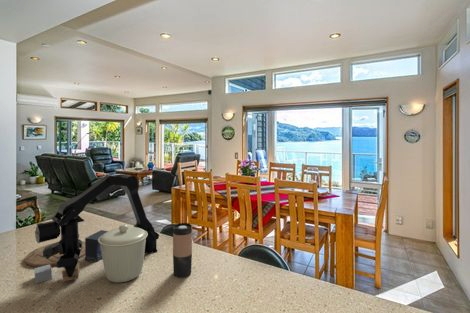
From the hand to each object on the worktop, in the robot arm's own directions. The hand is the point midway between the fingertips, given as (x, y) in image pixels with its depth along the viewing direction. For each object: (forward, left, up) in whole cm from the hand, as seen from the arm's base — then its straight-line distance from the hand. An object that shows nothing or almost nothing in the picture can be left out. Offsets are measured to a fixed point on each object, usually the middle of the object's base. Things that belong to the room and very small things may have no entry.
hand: (71, 273), depth 100 cm
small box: (-9, -17, -2) cm, 19 cm away
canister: (-19, +6, -2) cm, 20 cm away
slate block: (+10, -5, -2) cm, 11 cm away
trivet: (+8, -26, -3) cm, 28 cm away
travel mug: (-41, +13, -2) cm, 43 cm away
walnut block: (0, 0, -1) cm, 1 cm away
